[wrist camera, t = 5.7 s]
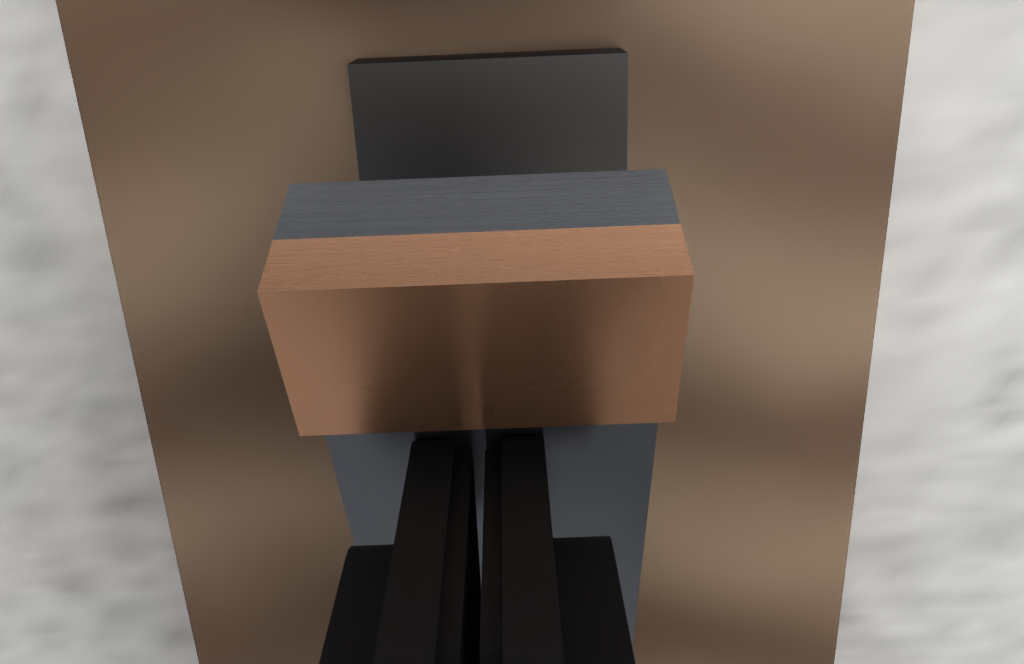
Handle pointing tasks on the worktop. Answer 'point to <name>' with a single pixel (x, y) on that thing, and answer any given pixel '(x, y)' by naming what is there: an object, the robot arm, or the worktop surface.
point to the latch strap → (486, 335)
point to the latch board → (489, 152)
